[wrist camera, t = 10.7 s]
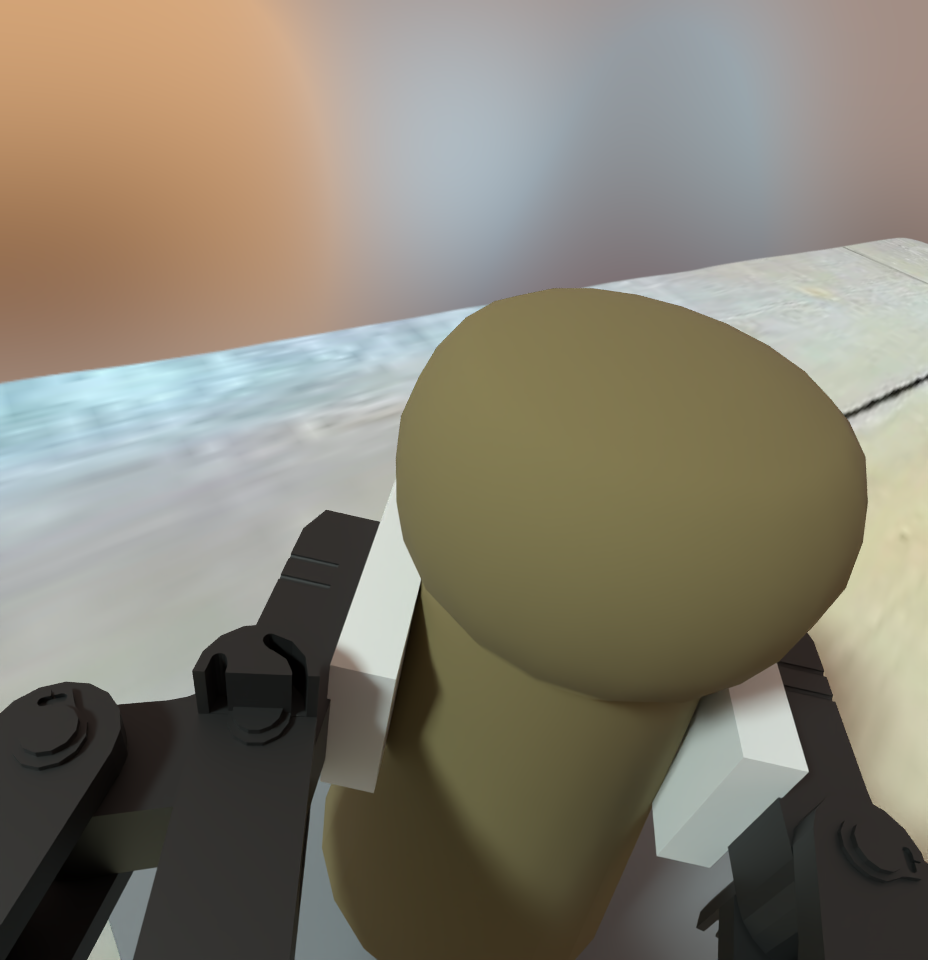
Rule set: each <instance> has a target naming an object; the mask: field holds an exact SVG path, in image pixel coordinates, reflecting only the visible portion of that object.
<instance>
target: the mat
mask: <svg viewBox="0 0 928 960" xmlns="http://www.w3.org/2000/svg"><path fill="white" fill-rule="evenodd" d="M320 776H321V774H320ZM330 786H331V784H330V783H326V782H321V781H320V777H319V780H318V784H317V787H316V790H315V793H314V796H313V799H312V802H311V809H310V821H309V830H308V840H307V849H306V858H305V867H304V877H303V886H302V895H301V905H300V914H299V923H298V932H297V942H296V951H295V960H377V959H376V958H375V957H373V956H372V955H371V954H370V953H369V952H367V951H366V950H365V949H364V948H363V947H362V945H361V943H360V942H359V940H358V938H357V937H356V935H355V934H354V932H353V930H352V929H351V927H350V925H349V924H348V922H347V920H346V919H345V917H344V915H343V914H342V912H341V910H340V909H339V907H338V905H337V904H336V902H335V901H334V897H333V893H332V889H331V884H330V880H329V876H328V872H327V867H326V863H325V859H324V855H323V850H322V839H323V826H324V813H325V800H326V796H327V793H328V791H329V788H330ZM156 870H157V867H156V868H150V869H143V870H136V871H134V872H133V873H132V875H131V877H130V879H129V881H128V883H127V885H126V887H125V889H124V890H123V892H122V894H121V896H120V898H119V900H118V902H117V904H116V906H115V908H114V909H113V911H112V913H111V915H110V917H109V923H110V926H111V929H112V932H113V935H114V938H115V942H116V945H117V948H118V951H119V954H120V958H121V960H133V957H134V953H135V949H136V946H137V942H138V938H139V934H140V931H141V927H142V923H143V919H144V915H145V912H146V908H147V904H148V900H149V897H150V893H151V889H152V885H153V882H154V878H155V874H156ZM732 881H733V874H732V869H731V863H730V857H729V852H728V851H727V852H726V853H725V854H724V855H723V856H722V857H721V858H720V859H719V860H717V861H716V862H715V863H714V864H713V865H712V866H711V867H710V868H708V867H704V866H699V865H695V864H690V863H686V862H681V861H677V860H672V859H668V858H663V857H659V856H657V854H656V843H655V832H654V822H653V811H652V808H651V811H650V813H649V815H648V817H647V820H646V822H645V824H644V826H643V829H642V831H641V833H640V835H639V838H638V840H637V842H636V844H635V847H634V849H633V851H632V853H631V856H630V858H629V860H628V862H627V865H626V867H625V869H624V871H623V874H622V876H621V878H620V880H619V883H618V885H617V887H616V889H615V892H614V894H613V896H612V898H611V901H610V903H609V905H608V907H607V910H606V912H605V914H604V917H603V919H602V921H601V923H600V926H599V928H598V930H597V932H596V935H595V937H594V939H593V940H592V941H591V942H590V943H589V944H588V946H587V947H586V948H585V949H584V950H583V951H582V952H581V954H580V955H579V956H578V957H577V958H576V959H575V960H718V938H717V937H715V936H716V933H717V931H718V929H719V920H717V921H716V922H715V923H714V924H712V925H711V926H710V927H709V928H708V929H706V930H705V931H701V930H699V929H697V928H696V926H697V922H698V918H699V914H700V911H701V910H702V909H703V908H704V907H705V906H706V905H707V904H708V903H709V902H710V901H711V900H712V899H713V898H714V897H715V896H716V895H717V894H718V893H720V892H721V891H722V890H723V889H724V888H725V887H726V886H727V885H729V884H730V883H731V882H732Z"/></svg>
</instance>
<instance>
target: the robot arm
mask: <svg viewBox="0 0 928 960" xmlns="http://www.w3.org/2000/svg"><path fill="white" fill-rule="evenodd" d="M420 583H421V578H420V576H419V573H418V571H417V569H416V567H415V565H414V563H413V560H412V558H411V556H410V554H409V552H408V550H407V547H406V545H405V543H404V541H403V536H402V531H401V525H400V520H399V514H398V509H397V503H396V479H395V482H394V485H393V488H392V490H391V493H390V496H389V499H388V502H387V505H386V507H385V510H384V513H383V516H382V519H381V522H378V521H374V520H369V519H365V518H360V517H356V516H351V515H347V514H343V513H338V512H334V511H329V510H325V511H324V512H323V513H322V514H321V515H319V516H318V517H317V518H316V519H314V520H313V521H312V522H311V523H309V524H308V525H307V526H306V527H304V528H303V530H302V532H301V534H300V536H299V538H298V540H297V542H296V544H295V546H294V548H293V551H292V553H291V557H290V558H289V559H288V561H287V563H286V565H285V567H284V569H283V571H282V573H281V577H280V579H278V581H277V583H276V585H275V587H274V590H273V592H272V594H271V596H270V598H269V600H268V602H267V604H266V606H265V608H264V610H263V612H262V614H261V616H260V618H259V620H258V622H257V624H256V625H253V626H243V627H241V628H238V629H236V630H234V631H231V632H229V633H226V634H224V635H222V636H220V637H219V638H218V639H217V640H215V641H214V642H213V643H212V644H211V645H210V646H208V647H207V648H206V649H205V650H204V651H203V652H202V654H201V656H200V658H199V660H198V661H197V663H196V665H195V667H194V669H193V671H192V672H193V679H194V687H195V694H193V695H191V696H188V697H184V698H179V699H173V700H167V701H155V702H143V703H132V704H120V705H117V704H116V703H115V701H114V700H113V699H112V697H111V696H110V694H109V693H108V692H106V691H104V690H102V689H100V688H98V687H96V686H94V685H92V684H89V683H75V682H63V683H58V684H54V685H50V686H45V687H41V688H38V689H36V690H34V691H32V692H30V693H28V694H27V695H25V696H23V697H21V698H19V699H17V700H15V701H13V702H12V703H11V704H10V705H9V706H8V707H7V708H6V709H5V710H3V711H2V712H1V713H0V960H87V959H88V957H89V955H90V953H91V951H92V949H93V947H94V946H95V944H96V942H97V940H98V938H99V936H100V934H101V932H102V930H103V928H104V927H105V925H106V923H107V921H108V919H109V917H110V915H111V913H112V911H113V909H114V908H115V906H116V904H117V902H118V900H119V898H120V896H121V894H122V892H123V890H124V889H125V887H126V885H127V883H128V881H129V879H130V877H131V875H132V873H133V872H134V871H136V870H143V869H150V868H156V867H157V870H156V874H155V878H154V882H153V885H152V889H151V893H150V897H149V900H148V904H147V908H146V912H145V915H144V919H143V923H142V927H141V931H140V934H139V938H138V942H137V946H136V949H135V953H134V957H133V960H295V951H296V942H297V932H298V923H299V914H300V905H301V895H302V886H303V877H304V867H305V858H306V849H307V840H308V830H309V821H310V809H311V802H312V799H313V796H314V793H315V790H316V787H317V784H318V780H319V777H320V781H321V782H326V783H330V784H335V785H339V786H344V787H348V788H353V789H357V790H362V791H366V792H371V793H374V790H375V786H376V781H377V777H378V773H379V769H380V765H381V761H382V757H383V753H384V749H385V744H386V740H387V735H388V731H389V726H390V721H391V717H392V712H393V707H394V703H395V698H396V693H397V689H398V684H399V679H400V675H401V670H402V665H403V661H404V656H405V651H406V647H407V642H408V637H409V633H410V628H411V623H412V619H413V614H414V610H415V605H416V601H417V596H418V592H419V587H420ZM823 672H824V669H823V666H822V664H821V661H820V658H819V655H818V652H817V650H816V647H815V644H814V641H813V640H812V639H811V637H810V636H809V635H808V633H806V634H805V635H804V636H803V637H802V638H801V639H800V640H799V641H798V642H797V643H796V644H795V646H794V647H793V648H792V649H791V650H790V651H789V652H788V653H787V654H786V655H785V656H784V657H783V658H782V659H781V660H780V661H779V662H777V663H775V664H774V665H772V666H770V667H769V668H767V669H765V670H764V671H762V672H760V673H759V674H757V675H755V676H753V677H752V678H750V679H748V680H747V681H745V682H743V683H742V684H739V685H736V686H733V687H730V688H727V689H724V690H721V691H718V692H715V693H712V694H709V695H706V696H703V697H701V698H700V700H699V702H698V705H697V707H696V709H695V711H694V714H693V716H692V718H691V720H690V723H689V725H688V727H687V729H686V732H685V734H684V736H683V738H682V741H681V743H680V745H679V747H678V750H677V752H676V754H675V756H674V759H673V761H672V763H671V765H670V768H669V770H668V772H667V774H666V777H665V779H664V781H663V783H662V785H661V787H660V789H659V791H658V793H657V795H656V797H655V799H654V800H653V802H652V811H653V822H654V832H655V843H656V854H657V856H659V857H663V858H668V859H672V860H677V861H681V862H686V863H690V864H695V865H699V866H704V867H708V868H710V867H711V866H712V865H713V864H714V863H715V862H716V861H717V860H719V859H720V858H721V857H722V856H723V855H724V854H725V853H726V852H727V851H728V852H729V857H730V863H731V869H732V874H733V881H732V882H731V883H730V884H729V885H727V886H726V887H725V888H724V889H723V890H722V891H721V892H720V893H718V894H717V895H716V896H715V897H714V898H713V899H712V900H711V901H710V902H709V903H708V904H707V905H706V906H705V907H704V908H703V909H702V910H701V911H700V914H699V918H698V922H697V926H696V928H697V929H699V930H701V931H705V930H706V929H708V928H709V927H710V926H711V925H712V924H714V923H715V922H716V921H717V920H719V929H718V931H717V933H716V936H715V937H717V938H718V960H928V863H926V862H925V861H924V859H923V856H922V854H921V852H920V850H919V849H918V847H917V846H916V845H915V843H914V842H913V840H912V839H911V838H910V836H909V835H908V833H907V832H906V831H905V829H904V828H903V827H901V826H900V825H899V824H898V823H897V822H896V821H895V820H894V819H893V818H892V817H891V816H889V815H888V814H887V813H886V812H885V811H884V810H882V809H880V808H878V807H877V806H875V805H873V803H872V801H871V799H870V797H869V794H868V792H867V789H866V786H865V783H864V781H863V778H862V775H861V772H860V770H859V767H858V764H857V761H856V758H855V756H854V753H853V750H852V747H851V744H850V742H849V739H848V736H847V733H846V731H845V728H844V725H843V722H842V719H841V717H840V714H839V711H838V708H837V705H836V703H835V702H833V701H832V697H833V694H832V692H831V689H830V686H829V683H828V680H827V678H826V677H824V676H823ZM320 774H321V776H320Z"/></svg>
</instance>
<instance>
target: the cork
mask: <svg viewBox="0 0 928 960" xmlns="http://www.w3.org/2000/svg"><path fill="white" fill-rule="evenodd" d="M396 503H397V509H398V514H399V520H400V525H401V531H402V536H403V541H404V543H405V545H406V547H407V550H408V552H409V554H410V556H411V558H412V560H413V563H414V565H415V567H416V569H417V571H418V573H419V576H420V578H421V583H420V587H419V592H418V596H417V601H416V605H415V610H414V614H413V619H412V623H411V628H410V633H409V637H408V642H407V647H406V651H405V656H404V661H403V665H402V670H401V675H400V679H399V684H398V689H397V693H396V698H395V703H394V707H393V712H392V717H391V721H390V726H389V731H388V735H387V740H386V744H385V749H384V753H383V757H382V761H381V765H380V769H379V773H378V777H377V781H376V786H375V790H374V793H371V792H366V791H362V790H357V789H353V788H348V787H344V786H339V785H335V784H331V786H330V788H329V791H328V793H327V796H326V800H325V813H324V826H323V839H322V850H323V855H324V859H325V863H326V867H327V872H328V876H329V880H330V884H331V889H332V893H333V897H334V901H335V902H336V904H337V905H338V907H339V909H340V910H341V912H342V914H343V915H344V917H345V919H346V920H347V922H348V924H349V925H350V927H351V929H352V930H353V932H354V934H355V935H356V937H357V938H358V940H359V942H360V943H361V945H362V947H363V948H364V949H365V950H366V951H367V952H369V953H370V954H371V955H372V956H373V957H375V958H376V959H377V960H575V959H576V958H577V957H578V956H579V955H580V954H581V952H582V951H583V950H584V949H585V948H586V947H587V946H588V944H589V943H590V942H591V941H592V940H593V939H594V937H595V935H596V932H597V930H598V928H599V926H600V923H601V921H602V919H603V917H604V914H605V912H606V910H607V907H608V905H609V903H610V901H611V898H612V896H613V894H614V892H615V889H616V887H617V885H618V883H619V880H620V878H621V876H622V874H623V871H624V869H625V867H626V865H627V862H628V860H629V858H630V856H631V853H632V851H633V849H634V847H635V844H636V842H637V840H638V838H639V835H640V833H641V831H642V829H643V826H644V824H645V822H646V820H647V817H648V815H649V813H650V811H651V808H652V802H653V800H654V799H655V797H656V795H657V793H658V791H659V789H660V787H661V785H662V783H663V781H664V779H665V777H666V774H667V772H668V770H669V768H670V765H671V763H672V761H673V759H674V756H675V754H676V752H677V750H678V747H679V745H680V743H681V741H682V738H683V736H684V734H685V732H686V729H687V727H688V725H689V723H690V720H691V718H692V716H693V714H694V711H695V709H696V707H697V705H698V702H699V700H700V698H701V697H703V696H706V695H709V694H712V693H715V692H718V691H721V690H724V689H727V688H730V687H733V686H736V685H739V684H742V683H743V682H745V681H747V680H748V679H750V678H752V677H753V676H755V675H757V674H759V673H760V672H762V671H764V670H765V669H767V668H769V667H770V666H772V665H774V664H775V663H777V662H779V661H780V660H781V659H782V658H783V657H784V656H785V655H786V654H787V653H788V652H789V651H790V650H791V649H792V648H793V647H794V646H795V644H796V643H797V642H798V641H799V640H800V639H801V638H802V637H803V636H804V635H805V634H806V633H807V632H808V631H809V630H810V629H811V628H812V627H813V626H814V625H815V624H816V623H817V621H818V620H819V619H820V618H821V617H822V615H823V614H824V613H825V612H826V611H827V610H828V608H829V607H830V606H831V605H832V604H833V603H834V601H835V600H836V599H837V598H838V597H839V595H840V594H841V593H842V592H843V591H844V590H845V588H846V586H847V583H848V580H849V578H850V575H851V572H852V570H853V567H854V564H855V562H856V559H857V556H858V554H859V551H860V548H861V546H862V543H863V536H864V528H865V520H866V512H867V504H868V497H867V478H866V459H865V455H864V453H863V451H862V448H861V446H860V444H859V442H858V440H857V438H856V435H855V433H854V431H853V429H852V427H851V425H850V423H849V421H848V420H847V418H846V417H845V416H844V415H843V414H842V412H841V411H840V410H839V409H838V407H837V406H836V405H835V404H834V402H833V401H832V400H831V399H830V398H829V397H828V396H827V395H826V394H825V393H824V391H823V390H822V389H821V388H820V387H819V386H818V385H817V384H816V383H815V382H814V381H813V380H812V379H811V378H810V377H809V375H808V374H807V373H806V372H805V371H803V370H802V369H801V368H799V367H798V366H796V365H795V364H794V363H792V362H791V361H789V360H788V359H787V358H785V357H784V356H782V355H781V354H780V353H778V352H777V351H775V350H774V349H773V348H771V347H770V346H768V345H766V344H764V343H763V342H761V341H759V340H757V339H755V338H753V337H751V336H749V335H747V334H745V333H743V332H741V331H740V330H738V329H736V328H734V327H732V326H730V325H728V324H726V323H723V322H721V321H718V320H715V319H713V318H710V317H708V316H705V315H702V314H700V313H697V312H695V311H692V310H689V309H687V308H684V307H681V306H678V305H674V304H670V303H666V302H663V301H659V300H655V299H651V298H647V297H644V296H640V295H635V294H628V293H621V292H614V291H607V290H600V289H593V288H575V289H574V288H567V289H566V288H559V289H558V288H555V289H554V288H553V289H548V290H543V291H538V292H534V293H528V294H524V295H519V296H515V297H511V298H506V299H502V300H498V301H494V302H493V303H491V304H489V305H487V306H486V307H484V308H482V309H480V310H479V311H477V312H475V313H473V314H472V315H470V316H468V317H466V318H465V319H464V320H463V321H462V322H461V323H460V324H459V325H458V326H457V327H456V328H455V329H454V330H453V331H452V332H451V333H450V334H449V335H448V336H447V337H446V338H445V339H444V340H443V341H442V342H441V343H440V344H439V345H438V346H437V348H436V349H435V351H434V353H433V354H432V356H431V358H430V359H429V361H428V363H427V364H426V366H425V368H424V369H423V371H422V373H421V374H420V376H419V378H418V380H417V382H416V385H415V387H414V389H413V391H412V393H411V395H410V398H409V400H408V402H407V404H406V406H405V409H404V411H403V413H402V415H401V421H400V429H399V437H398V445H397V453H396Z"/></svg>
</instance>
